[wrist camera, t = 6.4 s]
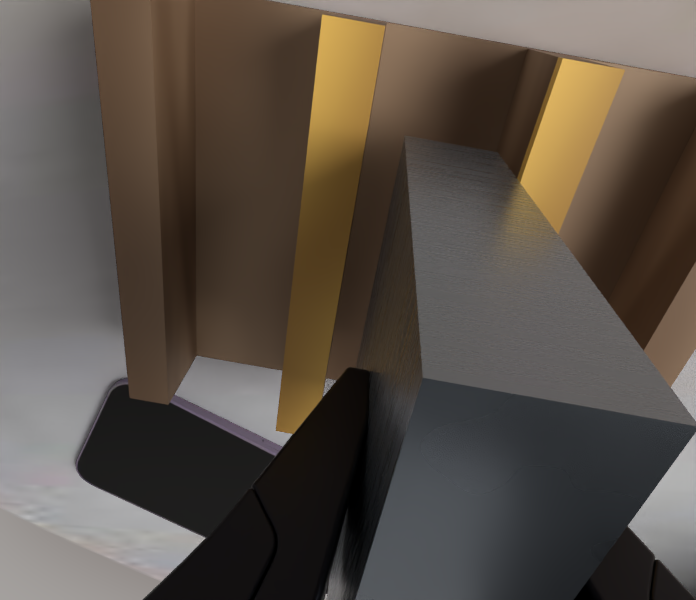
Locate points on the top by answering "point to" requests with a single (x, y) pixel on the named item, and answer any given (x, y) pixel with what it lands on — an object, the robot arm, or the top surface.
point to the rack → (361, 178)
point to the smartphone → (172, 458)
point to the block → (493, 400)
